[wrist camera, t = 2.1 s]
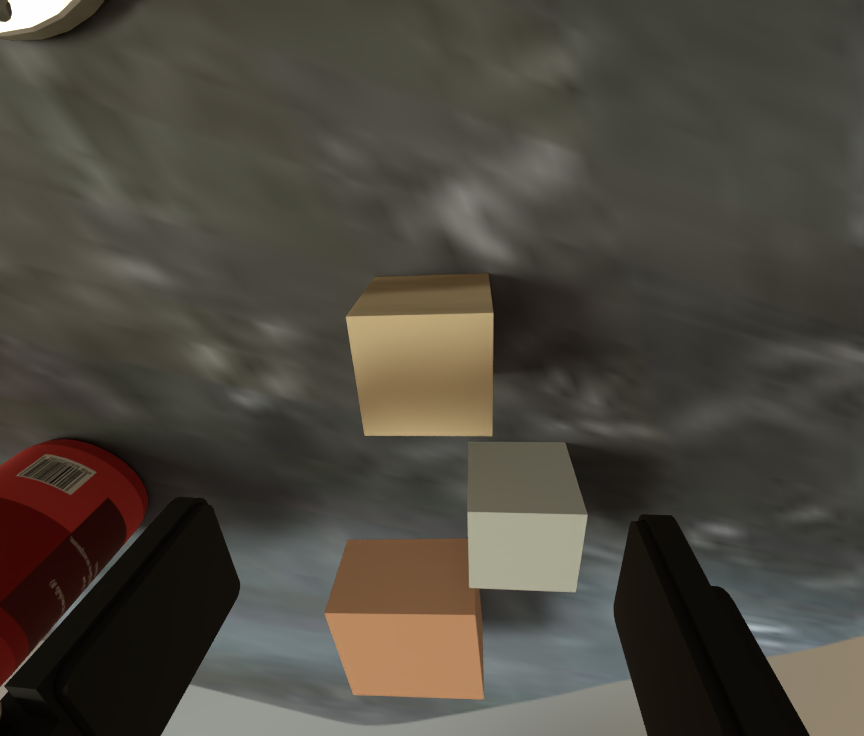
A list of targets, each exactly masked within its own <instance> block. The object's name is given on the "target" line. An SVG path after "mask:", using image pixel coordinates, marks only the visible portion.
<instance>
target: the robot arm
mask: <svg viewBox="0 0 864 736" xmlns="http://www.w3.org/2000/svg"><path fill="white" fill-rule="evenodd" d="M104 1H105V0H0V39H5V40H10V41H18V40H43V39H46V38H49V37H52V36H55V35H58V34H62V33H65V32H68V31H70V30H71V29H73V28H74V27H76V26H77V25H79V24H80V23H82V22H83V21H85V20H86V19H88V18H89V17H90V16H92V15H93V14H94V13H95V12H96V11H97V9H98V8H99V7H100V6H101V5H102V3H103V2H104ZM239 590H240V581H239V578H238V576H237V573H236V570H235V567H234V565H233V562H232V559H231V556H230V554H229V551H228V548H227V545H226V543H225V540H224V537H223V534H222V532H221V529H220V526H219V523H218V521H217V518H216V515H215V512H214V509H213V508H212V506H211V505H208V503H207V501H206V500H205V499H203V498H188V497H177V498H175V499H173V500H172V501H171V502H170V503H169V504H168V505H167V506H166V508H165V509H164V510H163V511H162V512H161V513H160V514H159V515H158V516H157V518H156V519H155V520H154V521H153V522H152V523H151V524H150V525H149V526H148V527H147V529H146V530H145V531H144V532H143V533H142V534H141V535H140V536H139V537H138V539H137V540H136V541H135V542H134V543H133V544H132V545H131V546H130V547H129V549H128V550H127V551H126V552H125V553H124V554H123V555H122V556H121V557H120V558H119V560H118V561H117V562H116V563H115V564H114V565H113V566H112V567H111V568H110V570H109V571H108V572H107V573H106V574H105V575H104V576H103V577H102V578H101V580H100V581H99V582H98V583H97V584H96V585H95V586H94V587H93V588H92V589H91V591H90V592H89V593H88V594H87V595H86V596H85V597H84V598H83V599H82V601H81V602H80V603H79V604H78V605H77V606H76V607H75V608H74V609H73V611H72V612H71V613H70V614H69V615H68V616H67V617H66V618H65V619H64V620H63V622H62V623H61V624H60V625H59V626H58V627H57V628H56V629H55V630H54V632H53V633H52V634H51V635H50V636H49V637H48V638H47V639H46V640H45V642H44V643H43V644H42V645H41V646H40V647H39V648H38V649H37V650H36V652H35V653H34V654H33V655H32V656H31V657H30V658H29V659H28V660H27V662H26V663H25V664H24V665H23V666H22V667H21V668H20V669H19V671H17V672H16V674H15V675H14V676H13V677H12V678H11V679H10V680H9V681H8V682H7V684H6V685H5V686H4V687H5V688H6V689H7V690H8V692H7V693H6V695H5V696H4V697H3V698H2V699H1V700H0V736H161V734H162V732H163V731H164V729H165V727H166V725H167V723H168V721H169V720H170V718H171V716H172V714H173V713H174V711H175V709H176V707H177V705H178V704H179V702H180V700H181V698H182V696H183V694H184V693H185V691H186V689H187V687H188V686H189V684H190V682H191V680H192V678H193V677H194V675H195V673H196V671H197V669H198V668H199V666H200V664H201V662H202V660H203V659H204V657H205V655H206V653H207V651H208V650H209V648H210V646H211V644H212V642H213V641H214V639H215V637H216V635H217V633H218V632H219V630H220V628H221V626H222V624H223V623H224V621H225V619H226V617H227V615H228V614H229V612H230V610H231V608H232V606H233V605H234V603H235V601H236V599H237V597H238V594H239ZM614 618H615V623H616V627H617V630H618V634H619V637H620V641H621V644H622V648H623V651H624V655H625V658H626V662H627V665H628V669H629V672H630V676H631V679H632V683H633V686H634V690H635V693H636V697H637V700H638V704H639V707H640V710H641V714H642V717H643V721H644V725H645V728H646V732H647V735H648V736H810V735H809V733H808V732H807V730H806V728H805V726H804V725H803V723H802V721H801V719H800V717H799V716H798V714H797V712H796V710H795V709H794V707H793V705H792V703H791V702H790V700H789V698H788V696H787V694H786V693H785V691H784V689H783V687H782V686H781V684H780V682H779V680H778V679H777V677H776V675H775V673H774V671H773V670H772V668H771V666H770V664H769V663H768V661H767V659H766V657H765V656H764V654H763V652H762V650H761V649H760V647H759V645H758V643H757V641H756V640H755V638H754V636H753V634H752V633H751V631H750V629H749V627H748V626H747V624H746V622H745V620H744V618H743V617H742V615H741V613H740V611H739V610H738V608H737V606H736V604H735V603H734V601H733V600H732V598H731V597H730V595H729V594H728V593H727V592H726V591H725V590H724V589H723V588H721V587H718V586H711V585H710V583H709V581H708V579H707V578H706V576H705V574H704V572H703V570H702V568H701V566H700V564H699V563H698V561H697V559H696V557H695V555H694V553H693V551H692V549H691V548H690V546H689V544H688V542H687V540H686V538H685V536H684V534H683V533H682V531H681V529H680V527H679V525H678V523H677V521H676V520H675V518H674V517H672V516H671V515H647V514H641V516H640V517H639V520H638V521H632V522H631V523H630V527H629V532H628V537H627V542H626V546H625V551H624V556H623V561H622V566H621V571H620V576H619V581H618V586H617V591H616V596H615V601H614Z"/></svg>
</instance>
